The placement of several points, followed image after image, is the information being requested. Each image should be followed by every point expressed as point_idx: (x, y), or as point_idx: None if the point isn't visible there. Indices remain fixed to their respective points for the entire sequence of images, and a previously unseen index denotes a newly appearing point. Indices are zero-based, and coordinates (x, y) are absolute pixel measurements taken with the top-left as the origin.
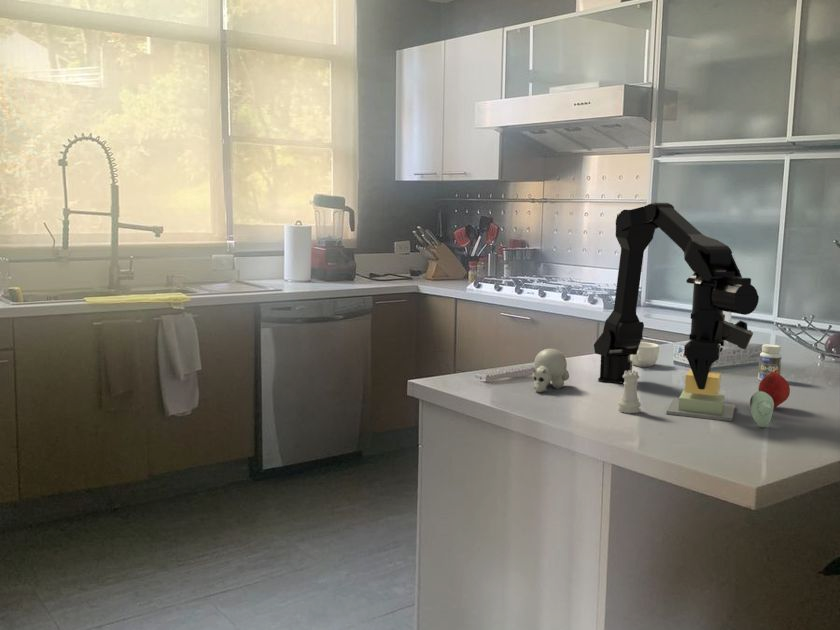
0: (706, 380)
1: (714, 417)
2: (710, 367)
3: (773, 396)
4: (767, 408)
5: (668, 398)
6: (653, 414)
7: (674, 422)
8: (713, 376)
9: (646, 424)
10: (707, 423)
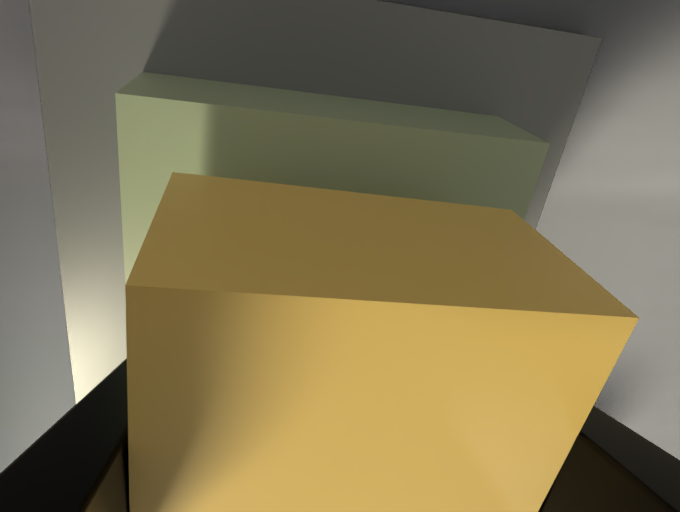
0: (598, 410)
1: (551, 167)
2: (95, 498)
3: None
4: None
5: (16, 443)
6: None
7: (625, 362)
8: (526, 376)
9: None
10: (642, 206)
